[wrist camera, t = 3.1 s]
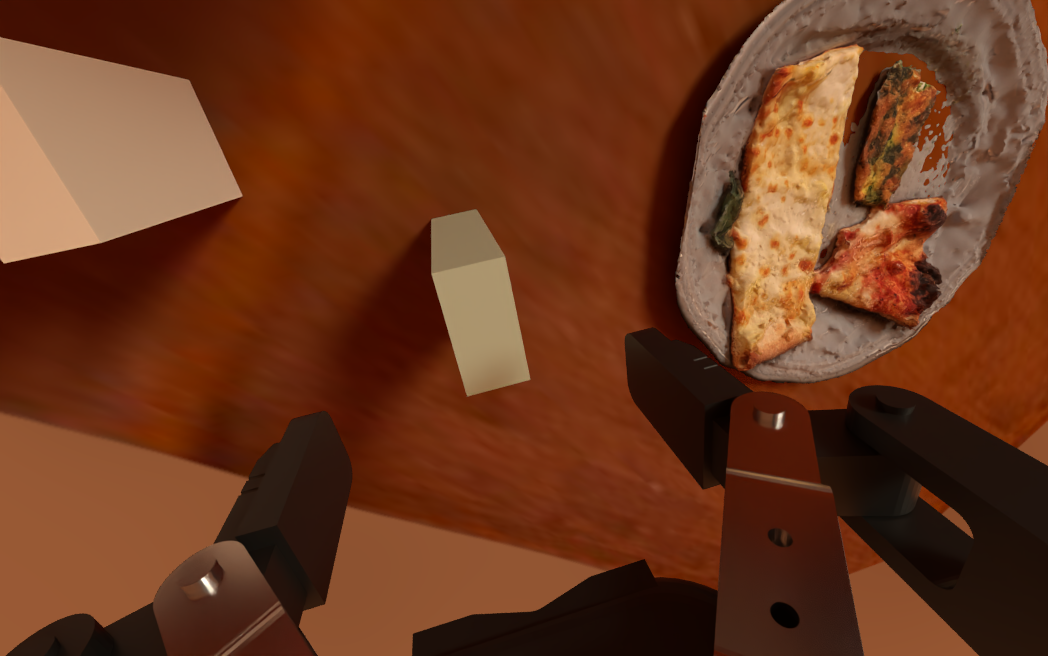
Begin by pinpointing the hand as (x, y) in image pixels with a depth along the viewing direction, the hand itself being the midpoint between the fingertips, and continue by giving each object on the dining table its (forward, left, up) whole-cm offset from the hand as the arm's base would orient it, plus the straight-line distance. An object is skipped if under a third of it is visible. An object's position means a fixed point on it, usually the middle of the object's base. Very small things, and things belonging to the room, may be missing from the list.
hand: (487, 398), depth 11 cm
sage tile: (0, 0, -14) cm, 14 cm away
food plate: (-24, +2, -15) cm, 29 cm away
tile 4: (+11, -8, -14) cm, 19 cm away
